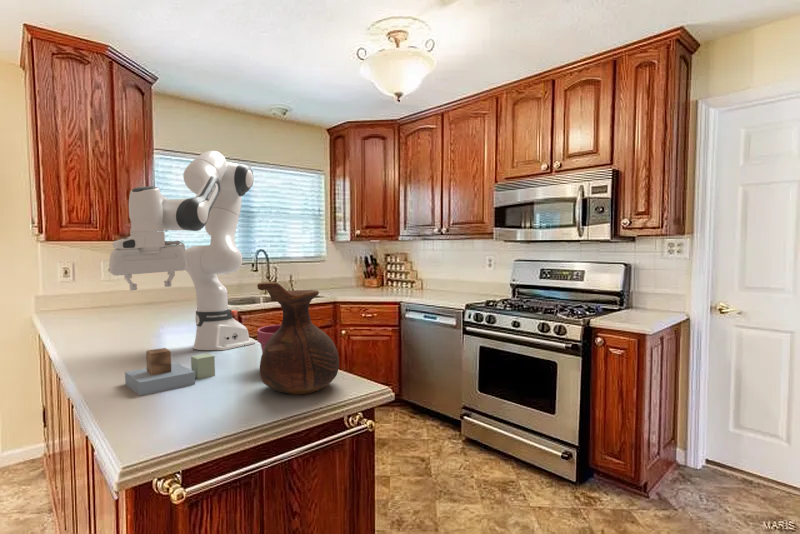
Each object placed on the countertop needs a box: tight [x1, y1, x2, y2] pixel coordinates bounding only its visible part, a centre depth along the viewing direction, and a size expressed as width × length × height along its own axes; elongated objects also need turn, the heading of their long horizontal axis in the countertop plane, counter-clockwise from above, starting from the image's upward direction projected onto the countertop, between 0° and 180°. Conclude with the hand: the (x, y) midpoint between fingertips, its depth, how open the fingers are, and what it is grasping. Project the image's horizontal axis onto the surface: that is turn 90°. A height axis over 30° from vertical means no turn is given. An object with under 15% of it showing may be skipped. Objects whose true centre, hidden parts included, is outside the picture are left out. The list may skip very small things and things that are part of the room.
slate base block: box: [124, 362, 196, 397], centre depth 130 cm, size 14×14×4 cm
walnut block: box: [145, 347, 172, 375], centre depth 129 cm, size 5×5×6 cm
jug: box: [256, 281, 340, 395], centre depth 125 cm, size 22×22×30 cm
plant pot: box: [256, 324, 281, 353], centre depth 146 cm, size 14×14×13 cm
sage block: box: [190, 353, 216, 380], centre depth 138 cm, size 5×5×6 cm
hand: (151, 288), depth 136 cm, fingers open, 8 cm apart
